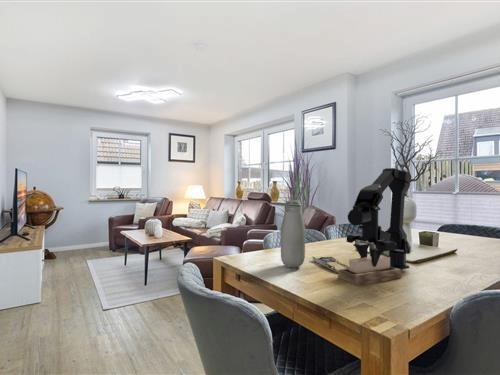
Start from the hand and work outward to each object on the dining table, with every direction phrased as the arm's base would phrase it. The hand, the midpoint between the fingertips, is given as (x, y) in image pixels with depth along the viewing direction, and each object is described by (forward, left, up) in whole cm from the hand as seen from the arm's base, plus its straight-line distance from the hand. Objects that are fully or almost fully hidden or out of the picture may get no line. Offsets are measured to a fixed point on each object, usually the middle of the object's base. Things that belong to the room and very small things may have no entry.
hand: (369, 265), depth 109 cm
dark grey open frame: (+2, -18, -5) cm, 19 cm away
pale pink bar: (0, 0, -2) cm, 2 cm away
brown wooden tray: (0, 0, -5) cm, 5 cm away
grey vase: (+18, -24, -5) cm, 30 cm away
